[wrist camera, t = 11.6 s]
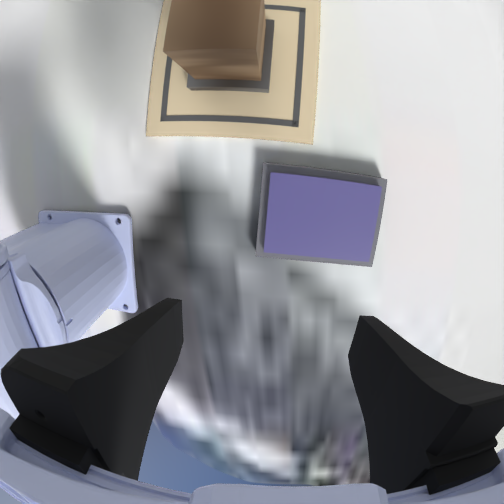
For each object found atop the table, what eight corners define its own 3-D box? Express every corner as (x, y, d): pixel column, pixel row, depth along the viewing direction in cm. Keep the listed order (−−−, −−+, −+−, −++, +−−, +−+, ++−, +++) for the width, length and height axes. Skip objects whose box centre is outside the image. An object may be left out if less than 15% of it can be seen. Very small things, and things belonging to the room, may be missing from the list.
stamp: (191, 90, 17) (150, 62, 10) (199, 26, 15) (167, -23, 9) (269, 93, 17) (267, 60, 10) (274, 26, 15) (275, -28, 8)
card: (147, 136, 18) (145, 136, 18) (165, -1, 14) (164, -2, 14) (312, 144, 18) (313, 144, 18) (320, 1, 14) (320, -1, 14)
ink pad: (256, 251, 20) (254, 258, 19) (263, 162, 18) (262, 163, 17) (367, 261, 20) (374, 269, 19) (381, 177, 18) (390, 180, 17)
